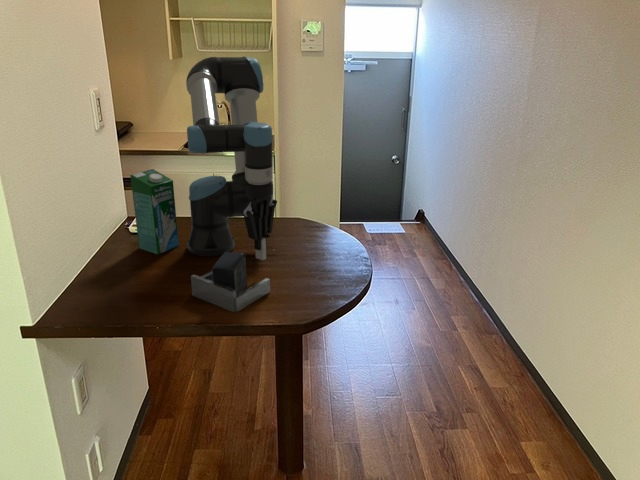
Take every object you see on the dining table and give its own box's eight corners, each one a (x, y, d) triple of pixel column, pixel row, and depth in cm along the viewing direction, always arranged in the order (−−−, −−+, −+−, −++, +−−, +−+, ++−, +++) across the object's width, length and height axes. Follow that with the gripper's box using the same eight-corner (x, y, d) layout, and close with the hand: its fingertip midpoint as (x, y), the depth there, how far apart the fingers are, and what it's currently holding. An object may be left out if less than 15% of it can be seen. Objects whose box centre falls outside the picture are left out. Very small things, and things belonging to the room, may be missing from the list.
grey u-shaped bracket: (190, 294, 145) (189, 275, 143) (226, 276, 156) (225, 257, 153) (235, 313, 136) (234, 292, 134) (270, 291, 147) (269, 272, 145)
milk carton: (158, 254, 169) (150, 179, 159) (138, 248, 173) (129, 174, 164) (179, 245, 176) (172, 172, 166) (160, 239, 180) (152, 168, 171)
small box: (226, 284, 151) (224, 250, 147) (247, 286, 150) (246, 252, 146) (213, 301, 142) (210, 266, 138) (236, 304, 141) (234, 268, 137)
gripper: (253, 189, 138) (256, 269, 148) (284, 178, 148) (284, 254, 158) (232, 184, 142) (236, 262, 152) (263, 173, 152) (265, 247, 161)
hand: (260, 258), depth 155 cm, fingers closed
